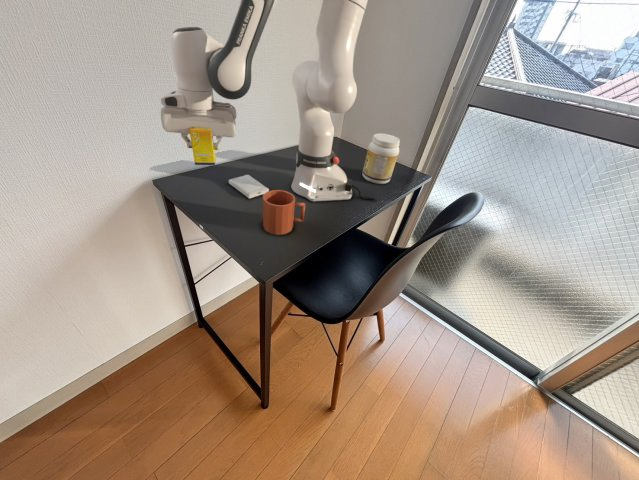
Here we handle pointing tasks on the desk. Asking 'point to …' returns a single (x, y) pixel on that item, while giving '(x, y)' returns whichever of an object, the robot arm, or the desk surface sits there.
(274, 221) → the mug
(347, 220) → the desk surface
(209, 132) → the supplement box
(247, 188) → the hard drive
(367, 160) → the supplement tub
